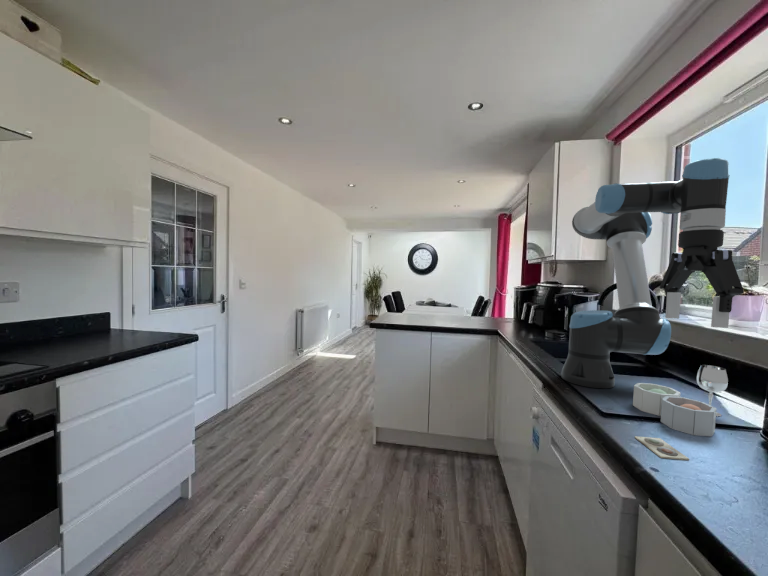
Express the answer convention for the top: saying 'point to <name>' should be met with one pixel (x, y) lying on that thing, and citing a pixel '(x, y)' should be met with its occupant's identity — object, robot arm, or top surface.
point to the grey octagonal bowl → (688, 416)
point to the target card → (661, 448)
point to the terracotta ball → (690, 406)
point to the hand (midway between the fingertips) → (693, 322)
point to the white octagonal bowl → (651, 397)
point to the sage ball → (658, 391)
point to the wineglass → (712, 380)
